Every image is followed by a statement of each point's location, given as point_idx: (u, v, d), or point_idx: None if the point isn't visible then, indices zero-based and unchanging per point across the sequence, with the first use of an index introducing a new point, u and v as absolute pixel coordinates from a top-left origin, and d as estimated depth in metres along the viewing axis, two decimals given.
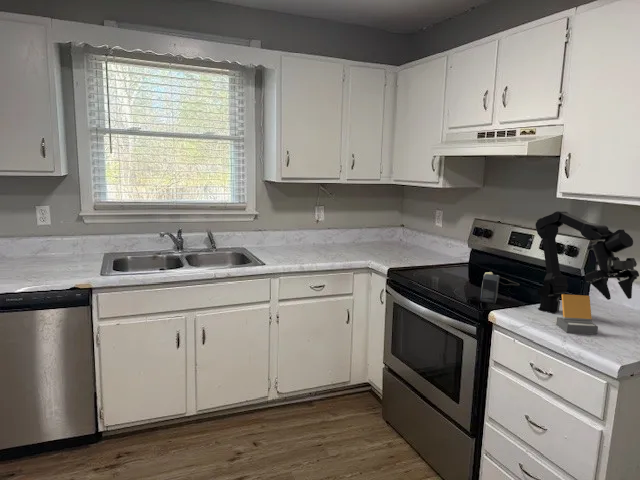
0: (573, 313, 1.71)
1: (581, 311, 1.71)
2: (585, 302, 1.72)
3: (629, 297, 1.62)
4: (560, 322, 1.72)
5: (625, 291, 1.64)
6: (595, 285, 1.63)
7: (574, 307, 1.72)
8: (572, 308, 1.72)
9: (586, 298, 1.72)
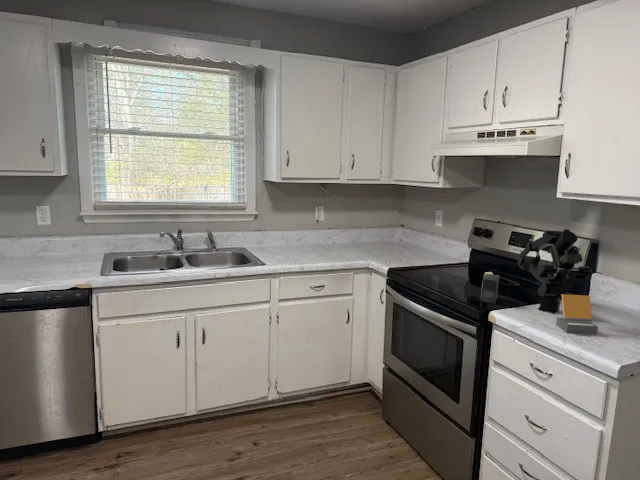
0: (573, 313, 1.71)
1: (581, 311, 1.71)
2: (585, 302, 1.72)
3: (570, 290, 1.77)
4: (560, 322, 1.72)
5: None
6: (558, 280, 1.82)
7: (574, 307, 1.72)
8: (572, 308, 1.72)
9: (586, 298, 1.72)
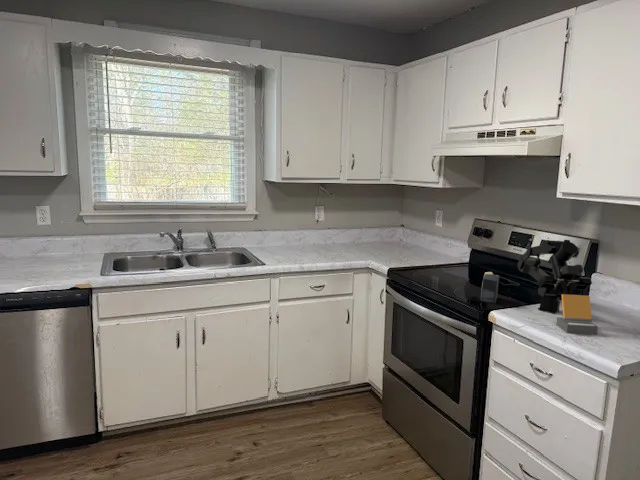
0: (573, 313, 1.71)
1: (581, 311, 1.71)
2: (585, 302, 1.72)
3: None
4: (560, 322, 1.72)
5: None
6: (558, 291, 1.82)
7: (574, 307, 1.72)
8: (572, 308, 1.72)
9: (586, 298, 1.72)
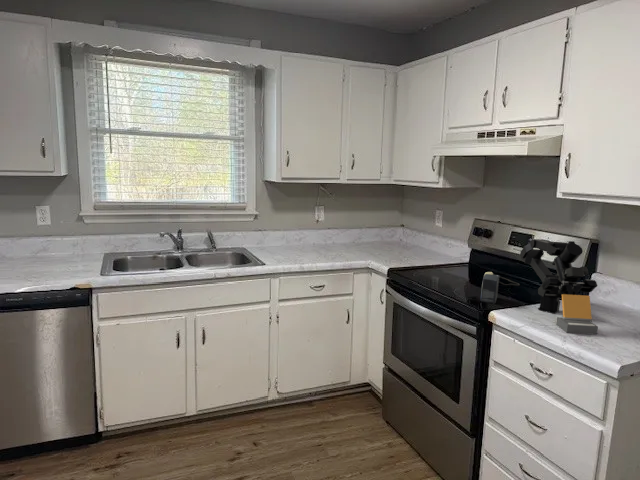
0: (573, 313, 1.71)
1: (581, 311, 1.71)
2: (585, 302, 1.72)
3: None
4: (560, 322, 1.72)
5: None
6: (563, 293, 1.78)
7: (574, 307, 1.72)
8: (572, 308, 1.71)
9: (586, 298, 1.72)
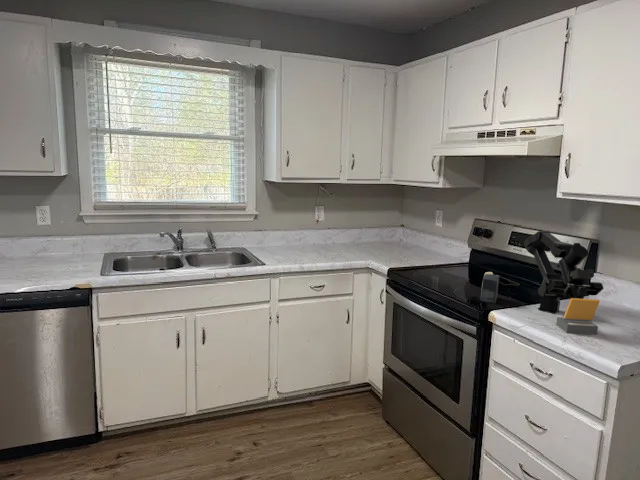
0: (575, 315, 1.70)
1: (584, 313, 1.69)
2: (592, 306, 1.67)
3: None
4: (560, 322, 1.72)
5: None
6: (568, 296, 1.74)
7: (579, 310, 1.69)
8: (576, 311, 1.69)
9: (595, 303, 1.67)
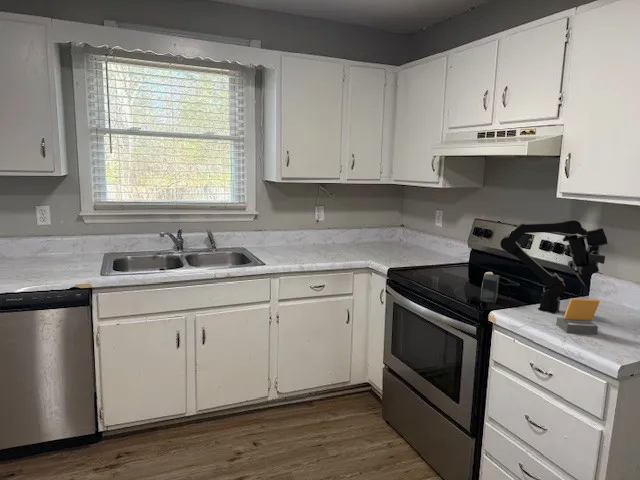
0: (575, 315, 1.70)
1: (584, 313, 1.69)
2: (592, 306, 1.67)
3: None
4: (560, 322, 1.72)
5: None
6: (580, 275, 1.84)
7: (579, 310, 1.68)
8: (576, 311, 1.69)
9: (595, 303, 1.67)
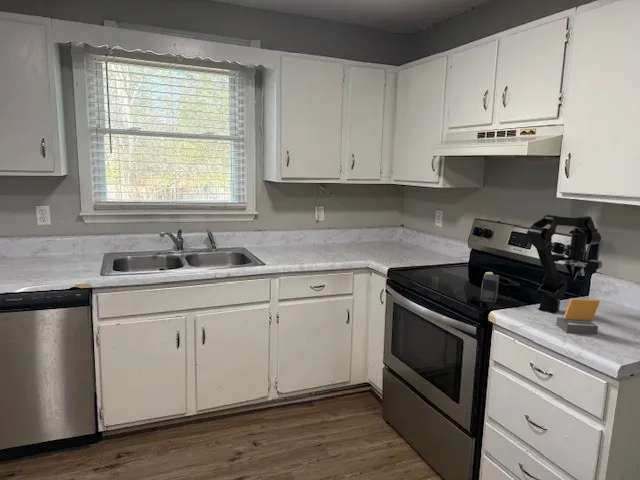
0: (575, 315, 1.70)
1: (584, 313, 1.69)
2: (592, 306, 1.67)
3: None
4: (560, 322, 1.72)
5: (572, 274, 1.96)
6: None
7: (579, 310, 1.68)
8: (576, 311, 1.69)
9: (595, 303, 1.67)
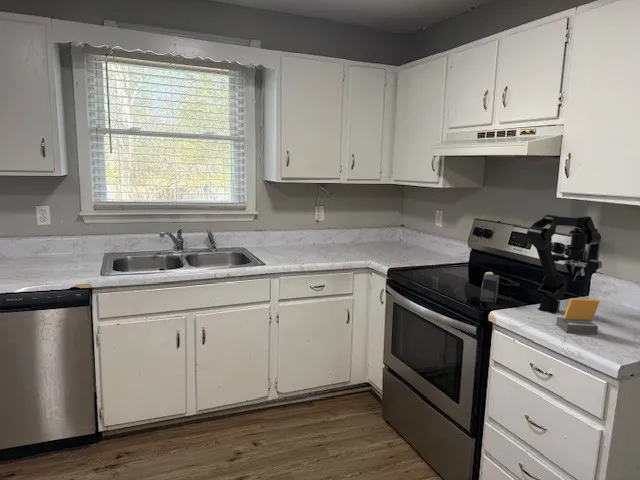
0: (575, 315, 1.70)
1: (584, 313, 1.69)
2: (592, 306, 1.67)
3: None
4: (560, 322, 1.72)
5: (572, 274, 1.96)
6: None
7: (579, 310, 1.68)
8: (576, 311, 1.69)
9: (595, 303, 1.67)
